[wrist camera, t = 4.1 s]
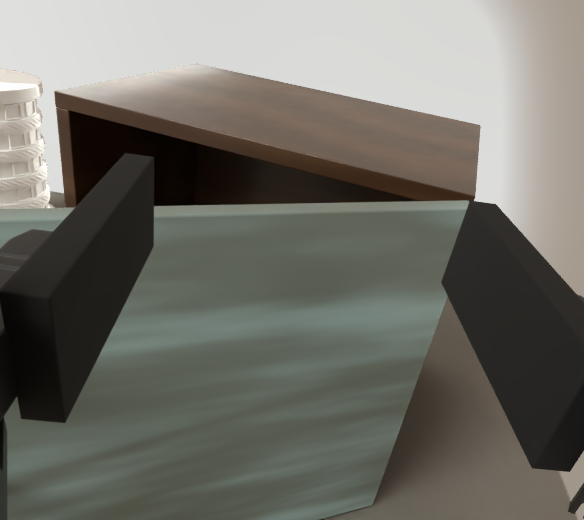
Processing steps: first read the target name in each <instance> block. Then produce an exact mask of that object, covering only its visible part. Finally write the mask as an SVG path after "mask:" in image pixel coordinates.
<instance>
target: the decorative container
mask: <svg viewBox="0 0 584 520" xmlns="http://www.w3.org/2000/svg"><path fill="white" fill-rule="evenodd" d="M42 93H43V90H42V81H41V80H40V78H38V77H36V76H34V75H31V74H28V73H24V72H19V71H14V70H6V69H0V209H27V208H55V207H54V206H52V205H51V204H48V202H49V199H50V193H51V192H50V191H49V190H50V189H49V186H48V185H47V183H46V179H45V178H46V177H47V172H48V170H47V169H48V167H47V164H46V162H45V160H44V159H43V152H44V149H45V142H44V138H43V136H42V135H41V134H40V127H39V126H41V123H42V115H41V111H40V110H39V108H38V107H37V101H36V98H38V97H39V96H41V95H42Z"/></svg>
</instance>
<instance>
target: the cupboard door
mask: <svg viewBox="0 0 584 520" xmlns="http://www.w3.org/2000/svg"><path fill="white" fill-rule="evenodd" d="M468 204H469V201H468V200H460V201H406V202H352V203H298V204H244V205H190V206H154V247H153V249H152V251H151V253H150V255H149V257H148V259H147V261H146V263H145V265H144V267H143V269H142V271H141V273H140V275H139V277H138V279H137V281H136V283H135V285H134V287H133V289H132V291H131V293H130V295H129V297H128V299H127V301H126V303H125V305H124V307H123V309H122V311H121V313H120V315H119V317H118V319H117V321H116V323H115V325H114V327H113V329H112V331H111V333H110V335H109V337H108V339H107V341H106V343H105V345H104V347H103V349H102V351H101V353H100V355H99V357H98V359H97V361H96V363H95V365H94V367H93V369H92V371H91V373H90V375H89V377H88V379H87V381H86V383H85V385H84V387H83V389H82V391H81V393H80V395H79V397H78V399H77V401H76V403H75V405H74V407H73V409H72V411H71V413H70V415H69V417H68V419H67V421H66V423H58V422H48V421H37V420H27V419H21V415H20V410H19V404H18V399H17V397H16V399H15V400H14V402H13V403H12V405H11V406H10V408H9V409H8V411H7V413H6V414H5V416H4V419H5V424H6V428H7V518H8V520H320V519H324V518H327V517H331V516H334V515H338V514H342V513H345V512H349V511H353V510H356V509H360V508H363V507H367V506H371V505H373V503H374V500H375V497H376V494H377V492H378V489H379V486H380V483H381V480H382V478H383V475H384V472H385V469H386V467H387V464H388V461H389V458H390V456H391V453H392V450H393V447H394V444H395V442H396V439H397V436H398V433H399V431H400V428H401V425H402V422H403V419H404V417H405V414H406V411H407V408H408V406H409V403H410V400H411V397H412V395H413V392H414V389H415V386H416V383H417V381H418V378H419V375H420V372H421V370H422V367H423V364H424V361H425V358H426V356H427V353H428V350H429V347H430V345H431V342H432V339H433V336H434V334H435V331H436V328H437V325H438V322H439V320H440V317H441V314H442V311H443V309H444V306H445V303H446V300H447V298H448V296H447V294H446V291H445V289H444V287H443V285H442V283H441V281H442V278H443V275H444V272H445V270H446V267H447V264H448V261H449V258H450V255H451V253H452V250H453V247H454V244H455V241H456V238H457V236H458V233H459V230H460V227H461V224H462V221H463V219H464V216H465V213H466V210H467V207H468ZM73 209H74V208H27V209H0V248H1V247H2V246H3V245H4V244H5V243H7V242H8V241H9V240H10V239H11V238H13V237H15V236H18V235H20V234H22V233H24V232H26V231H29V230H31V229H38V230H46V231H54V230H55V229H56V228H57V227H58V226H59V225H60V223H61V222H62V221H63V220H64V219H65V218H66V217H67V216H68V215H69V214H70V213H71V212H72V210H73Z"/></svg>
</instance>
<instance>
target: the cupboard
mask: <svg viewBox="0 0 584 520" xmlns="http://www.w3.org/2000/svg"><path fill="white" fill-rule="evenodd" d="M54 93H55V104H56V107H57V108H56V110H57V122H58V132H59V143H60V153H61V162H62V174H63V185H64V195H65V206H66V208H75V207H76V206H77V205H78V204H79V203H80V202H81V201H82V200H83V199H84V197H85V196H86V195H87V194H88V193H89V192H90V191H91V190H92V189H93V188H94V187H95V186H96V184H97V183H98V182H99V181H100V180H101V179H102V178H103V177H104V176H105V175H106V174H107V172H108V171H109V170H110V169H111V168H112V167H113V166H114V165H115V164H116V163H117V162H118V161H119V159H120V158H121V157H122V156H123V155H124V154H125V153H127V154H135V155H142V156H149V157H154V206H190V205H244V204H298V203H352V202H406V201H460V200H468V201H469V202H470V201H474V199H475V192H476V178H477V165H478V164H477V163H478V151H479V138H480V125H477V124H472V123H467V122H463V121H458V120H454V119H449V118H444V117H440V116H435V115H431V114H425V113H421V112H417V111H412V110H408V109H403V108H398V107H394V106H389V105H385V104H380V103H375V102H371V101H366V100H361V99H357V98H352V97H348V96H343V95H338V94H334V93H329V92H325V91H320V90H315V89H311V88H306V87H302V86H297V85H292V84H288V83H283V82H279V81H274V80H269V79H264V78H260V77H256V76H251V75H246V74H242V73H236V72H232V71H228V70H223V69H219V68H214V67H209V66H205V65H200V64H193V65H188V66H183V67H178V68H172V69H167V70H162V71H157V72H151V73H146V74H141V75H136V76H131V77H125V78H120V79H115V80H110V81H105V82H99V83H94V84H89V85H84V86H79V87H73V88H68V89H63V90H58V91H55V92H54Z"/></svg>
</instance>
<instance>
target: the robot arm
mask: <svg viewBox="0 0 584 520" xmlns="http://www.w3.org/2000/svg"><path fill="white" fill-rule="evenodd" d="M153 247H154V157H149V156H142V155H135V154H127V153H125V154H124V155H123V156H122V157H121V158H120V159H119V161H118V162H117V163H116V164H115V165H114V166H113V167H112V168H111V169H110V170H109V171H108V172H107V174H106V175H105V176H104V177H103V178H102V179H101V180H100V181H99V182H98V183H97V184H96V186H95V187H94V188H93V189H92V190H91V191H90V192H89V193H88V194H87V195H86V196H85V197H84V199H83V200H82V201H81V202H80V203H79V204H78V205H77V206H76V207H75V208H74V209H73V210H72V212H71V213H70V214H69V215H68V216H67V217H66V218H65V219H64V220H63V221H62V222H61V223H60V225H59V226H58V227H57V228H56V229H55V230H54V231H46V230H38V229H31V230H29V231H26V232H24V233H22V234H20V235H18V236H15V237H13V238H11V239H10V240H9V241H8V242H7V243H5V244H4V245H3V246H2V247H1V248H0V520H8V518H7V428H6V424H5V419H4V416H5V414H6V413H7V411H8V409H9V408H10V406H11V405H12V403H13V402H14V400H15V399H16V397H17V399H18V404H19V410H20V415H21V419H27V420H37V421H48V422H58V423H66V421H67V419H68V417H69V415H70V413H71V411H72V409H73V407H74V405H75V403H76V401H77V399H78V397H79V395H80V393H81V391H82V389H83V387H84V385H85V383H86V381H87V379H88V377H89V375H90V373H91V371H92V369H93V367H94V365H95V363H96V361H97V359H98V357H99V355H100V353H101V351H102V349H103V347H104V345H105V343H106V341H107V339H108V337H109V335H110V333H111V331H112V329H113V327H114V325H115V323H116V321H117V319H118V317H119V315H120V313H121V311H122V309H123V307H124V305H125V303H126V301H127V299H128V297H129V295H130V293H131V291H132V289H133V287H134V285H135V283H136V281H137V279H138V277H139V275H140V273H141V271H142V269H143V267H144V265H145V263H146V261H147V259H148V257H149V255H150V253H151V251H152V249H153ZM441 283H442V285H443V287H444V289H445V291H446V294H447V296H448V298H449V300H450V302H451V304H452V306H453V308H454V310H455V312H456V314H457V316H458V318H459V320H460V322H461V324H462V326H463V328H464V330H465V332H466V334H467V336H468V338H469V340H470V343H471V345H472V347H473V349H474V351H475V353H476V355H477V357H478V359H479V361H480V363H481V365H482V367H483V369H484V371H485V373H486V375H487V377H488V379H489V381H490V383H491V385H492V387H493V389H494V391H495V394H496V396H497V398H498V400H499V402H500V404H501V406H502V408H503V410H504V412H505V414H506V416H507V418H508V420H509V422H510V424H511V426H512V428H513V430H514V432H515V434H516V436H517V438H518V440H519V442H520V445H521V447H522V449H523V451H524V453H525V455H526V457H527V459H528V461H529V463H530V465H531V467H532V468H535V469H546V470H556V471H567V472H570V470H571V469H572V468H573V466H574V464H575V463H576V461H577V460H578V458H579V457H580V455H581V454H582V452H583V451H584V298H583V297H582V296H579V295H577V294H576V293H575V292H574V291H573V290H572V289H571V288H570V287H569V285H568V284H567V283H566V282H565V281H564V280H563V279H562V278H561V276H560V275H559V274H558V273H557V272H556V271H555V270H554V269H553V268H552V266H551V265H549V263H548V262H547V261H546V260H545V259H544V257H543V256H542V255H541V254H540V253H539V252H538V251H537V250H536V249H535V247H534V246H533V245H532V244H531V243H530V242H529V241H528V240H527V239H526V237H525V236H524V235H523V234H522V233H521V232H520V231H519V230H518V228H517V227H516V226H515V225H514V224H513V223H512V222H511V221H510V220H509V218H507V216H506V215H505V214H504V213H503V212H502V211H501V209H500V208H499V207H498V206H497V205H496V204H490V203H483V202H476V201H470V202H469V204H468V207H467V210H466V213H465V216H464V219H463V221H462V224H461V227H460V230H459V233H458V236H457V238H456V241H455V244H454V247H453V250H452V253H451V255H450V258H449V261H448V264H447V267H446V270H445V272H444V275H443V278H442V281H441ZM582 503H584V484H583V485H582V486H581V488H580V489H579V491H578V492H577V494H576V495H575V497H574V498H573V499H572V501H571V502H570V505H569V509H568V512H571V513H573V514H575V512H576V511H577V509H578V508H579V506H580V505H581V504H582ZM583 518H584V517H583Z"/></svg>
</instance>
